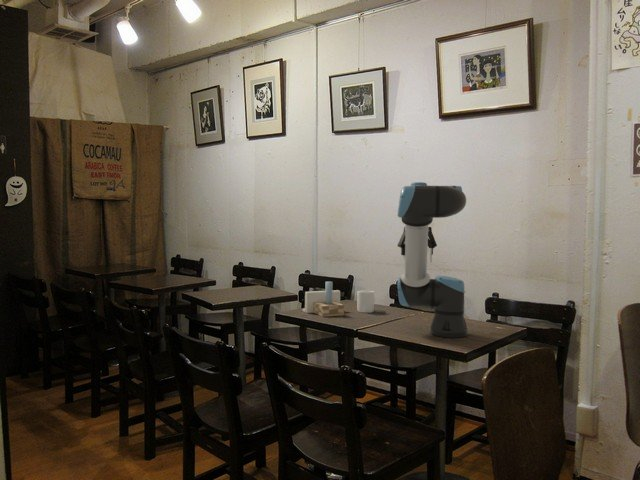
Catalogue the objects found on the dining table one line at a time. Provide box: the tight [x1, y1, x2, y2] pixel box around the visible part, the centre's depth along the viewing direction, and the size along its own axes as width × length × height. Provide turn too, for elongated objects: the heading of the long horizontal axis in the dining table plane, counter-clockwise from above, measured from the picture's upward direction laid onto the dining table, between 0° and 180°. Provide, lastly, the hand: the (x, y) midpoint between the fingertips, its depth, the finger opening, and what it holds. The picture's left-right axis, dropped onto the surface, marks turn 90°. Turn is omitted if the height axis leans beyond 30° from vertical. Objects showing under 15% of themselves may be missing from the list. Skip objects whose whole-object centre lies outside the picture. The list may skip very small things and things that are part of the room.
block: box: [314, 301, 345, 318], centre depth 256 cm, size 11×11×5 cm
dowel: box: [324, 281, 334, 305], centre depth 256 cm, size 3×3×14 cm
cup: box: [356, 289, 375, 314], centre depth 266 cm, size 8×12×10 cm
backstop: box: [302, 289, 341, 314], centre depth 263 cm, size 5×18×10 cm, turn 114°
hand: (417, 262), depth 245 cm, fingers open, 13 cm apart
